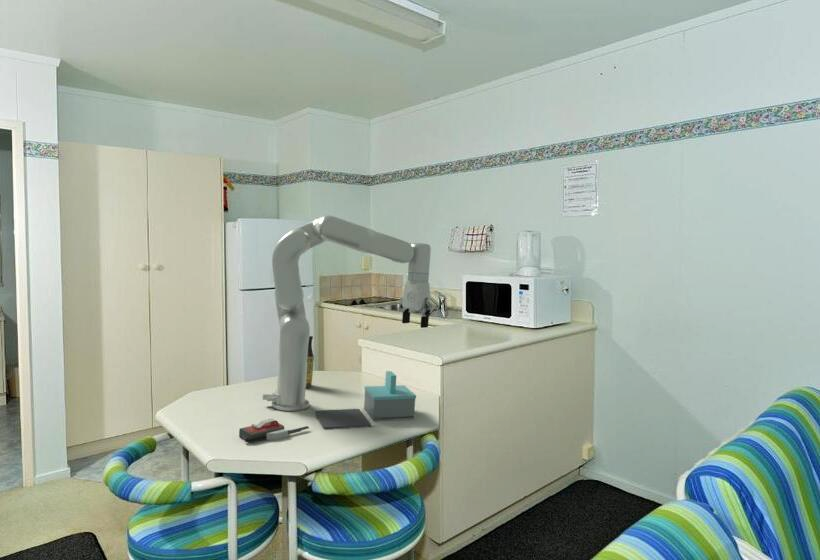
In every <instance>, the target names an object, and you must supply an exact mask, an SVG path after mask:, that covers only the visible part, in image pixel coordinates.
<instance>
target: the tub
mask: <svg viewBox="0 0 820 560" xmlns="http://www.w3.org/2000/svg"><path fill="white" fill-rule="evenodd" d="M363 403H364V404H363V411H365V413H366V412H367V413H366V414H367V415H368V417H369V418H370V417H371V418H370V419H371V420H372V421H373V422H378V421H401V420H402V421H403V420H414V418H415V408H416V399H389V400H374V399H373V398H372V397H371V396H370V395H369V394H368V393H367V392H366V390H365V389H364V402H363Z"/></svg>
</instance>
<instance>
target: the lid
mask: <svg viewBox="0 0 820 560" xmlns="http://www.w3.org/2000/svg"><path fill="white" fill-rule="evenodd" d="M384 381H385V382H384V385H372V386H371V385H370V386H369V385H368V386H364V391H365V390H366V392H367V393H368V394H369V395H370V396H371V397H372V398H373V399H374V400H389V399H415V400H416V399H417V395H416V394H415V393H414V392H412V390H410V388H408V387H407V386H406V385H397V375H396V373H394V372H393V371H391V370H385V380H384Z"/></svg>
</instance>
